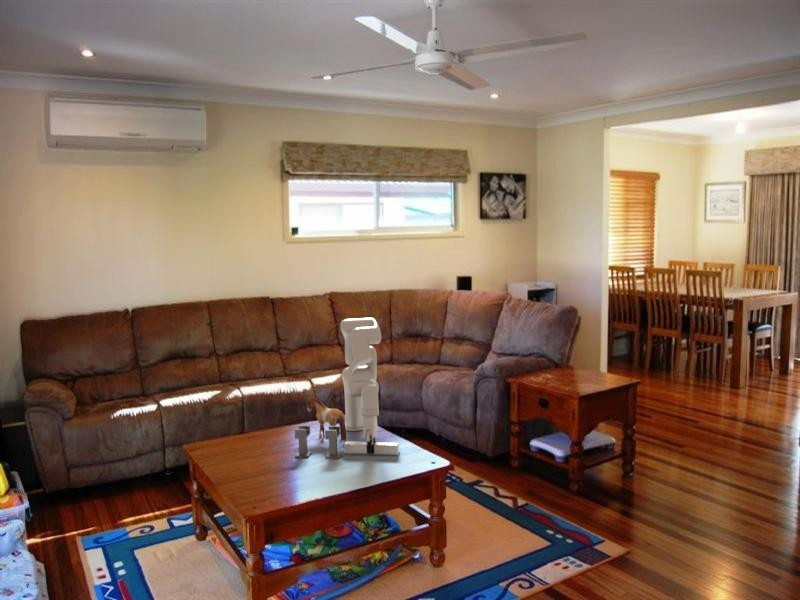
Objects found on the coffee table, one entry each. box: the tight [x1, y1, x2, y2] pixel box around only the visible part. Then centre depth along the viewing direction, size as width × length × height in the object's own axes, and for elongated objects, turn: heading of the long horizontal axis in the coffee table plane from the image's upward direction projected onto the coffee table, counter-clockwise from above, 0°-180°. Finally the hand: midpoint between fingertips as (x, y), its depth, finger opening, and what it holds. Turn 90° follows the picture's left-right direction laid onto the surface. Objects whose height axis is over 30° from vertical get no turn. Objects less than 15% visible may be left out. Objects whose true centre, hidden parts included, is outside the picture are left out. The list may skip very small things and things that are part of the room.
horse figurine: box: [305, 396, 348, 447], centre depth 318 cm, size 31×8×21 cm, turn 39°
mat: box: [342, 451, 401, 461], centre depth 300 cm, size 10×24×1 cm, turn 81°
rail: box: [343, 440, 400, 454], centre depth 300 cm, size 4×24×4 cm, turn 81°
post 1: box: [294, 424, 313, 459], centre depth 302 cm, size 7×6×13 cm
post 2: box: [324, 425, 343, 460], centre depth 300 cm, size 7×6×13 cm
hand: (371, 451), depth 300 cm, fingers closed on rail, 3 cm apart
